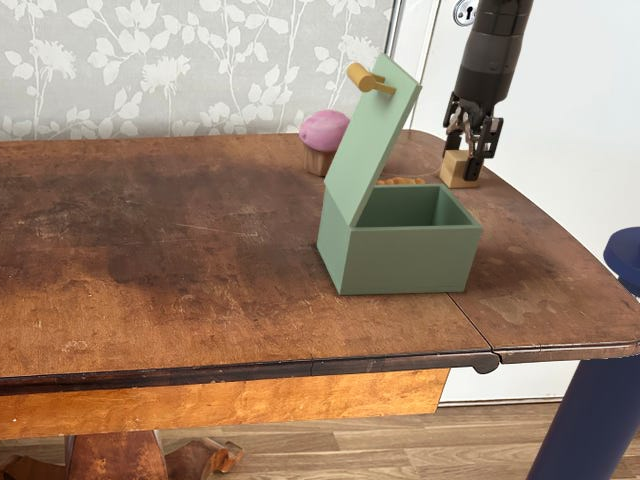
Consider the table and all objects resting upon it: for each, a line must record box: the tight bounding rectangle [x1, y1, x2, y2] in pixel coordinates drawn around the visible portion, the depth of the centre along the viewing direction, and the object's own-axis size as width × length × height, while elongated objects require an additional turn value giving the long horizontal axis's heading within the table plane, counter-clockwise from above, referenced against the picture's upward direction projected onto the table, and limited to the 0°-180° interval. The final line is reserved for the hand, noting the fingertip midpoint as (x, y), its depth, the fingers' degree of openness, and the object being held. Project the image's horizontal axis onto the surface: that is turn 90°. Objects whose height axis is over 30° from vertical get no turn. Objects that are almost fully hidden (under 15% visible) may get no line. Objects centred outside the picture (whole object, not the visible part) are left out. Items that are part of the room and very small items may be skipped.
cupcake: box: [298, 109, 351, 177], centre depth 114 cm, size 9×9×10 cm
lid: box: [323, 51, 424, 227], centre depth 81 cm, size 16×13×5 cm
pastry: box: [375, 176, 427, 185], centre depth 106 cm, size 9×7×4 cm
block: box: [438, 149, 486, 189], centre depth 112 cm, size 4×4×4 cm
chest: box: [316, 183, 484, 296], centre depth 89 cm, size 16×13×9 cm
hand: (458, 169), depth 112 cm, fingers open, 8 cm apart
